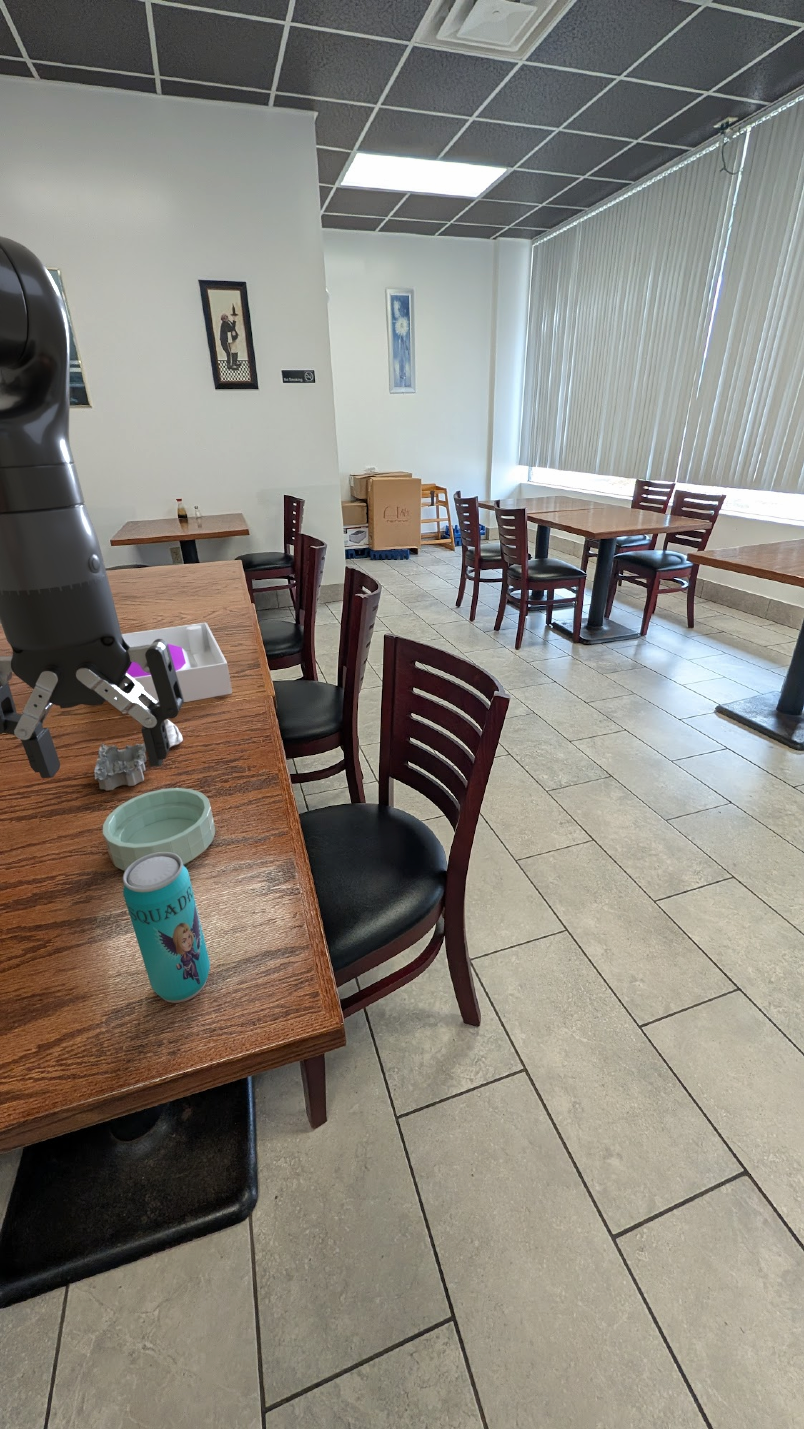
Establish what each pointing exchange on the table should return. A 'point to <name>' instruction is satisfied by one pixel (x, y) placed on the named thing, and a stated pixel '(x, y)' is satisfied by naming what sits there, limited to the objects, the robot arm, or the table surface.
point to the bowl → (159, 826)
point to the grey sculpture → (120, 766)
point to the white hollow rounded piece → (173, 733)
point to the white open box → (186, 661)
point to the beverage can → (167, 925)
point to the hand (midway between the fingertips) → (105, 767)
